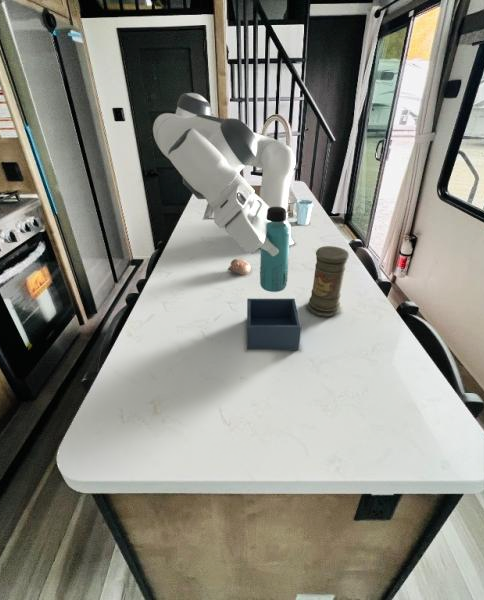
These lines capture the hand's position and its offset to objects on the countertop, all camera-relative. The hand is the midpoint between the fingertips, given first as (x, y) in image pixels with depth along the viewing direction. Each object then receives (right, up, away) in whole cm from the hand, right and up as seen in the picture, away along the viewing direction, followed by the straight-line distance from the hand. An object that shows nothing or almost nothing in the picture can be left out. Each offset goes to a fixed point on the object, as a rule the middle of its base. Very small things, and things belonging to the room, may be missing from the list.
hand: (278, 247), depth 71 cm
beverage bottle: (-1, -10, +6) cm, 11 cm away
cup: (+22, +26, +86) cm, 93 cm away
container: (+16, -14, +23) cm, 31 cm away
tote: (0, -21, +13) cm, 24 cm away
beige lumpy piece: (-9, -2, +43) cm, 44 cm away
